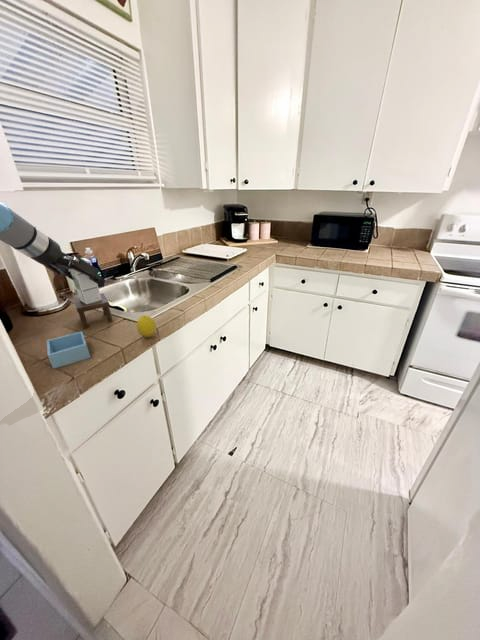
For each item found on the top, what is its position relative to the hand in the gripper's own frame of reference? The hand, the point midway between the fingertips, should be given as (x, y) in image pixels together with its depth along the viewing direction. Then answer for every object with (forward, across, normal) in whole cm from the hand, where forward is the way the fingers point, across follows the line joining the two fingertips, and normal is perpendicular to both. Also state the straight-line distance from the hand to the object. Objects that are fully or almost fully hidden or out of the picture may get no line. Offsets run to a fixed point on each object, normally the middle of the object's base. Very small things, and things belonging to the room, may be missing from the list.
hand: (93, 282), depth 93 cm
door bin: (-8, -7, +27) cm, 29 cm away
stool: (+7, 0, +12) cm, 14 cm away
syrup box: (+2, 0, +6) cm, 7 cm away
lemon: (+2, -25, +18) cm, 30 cm away
